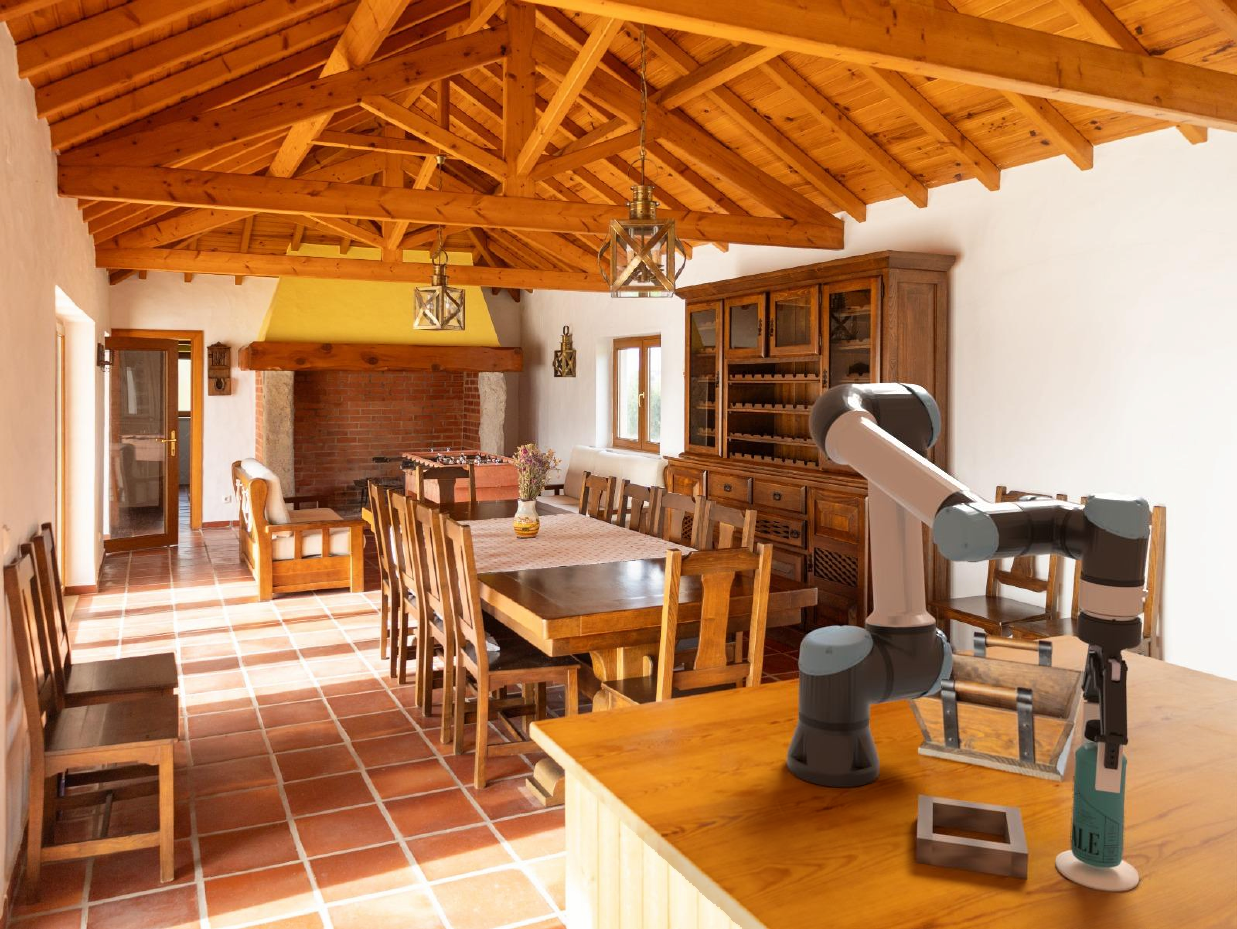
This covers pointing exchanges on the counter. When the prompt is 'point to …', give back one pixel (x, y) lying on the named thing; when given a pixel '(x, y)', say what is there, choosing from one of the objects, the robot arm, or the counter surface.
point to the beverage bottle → (1096, 808)
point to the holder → (971, 851)
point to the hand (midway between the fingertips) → (1098, 768)
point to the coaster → (1097, 874)
